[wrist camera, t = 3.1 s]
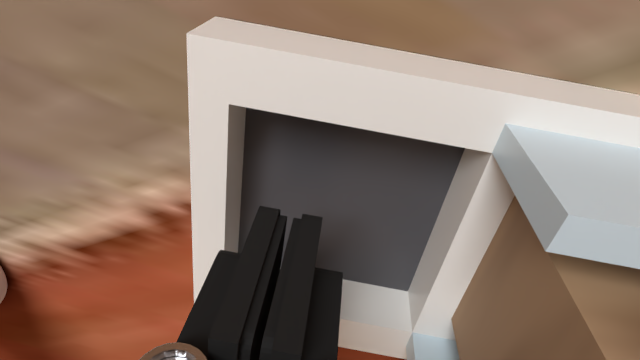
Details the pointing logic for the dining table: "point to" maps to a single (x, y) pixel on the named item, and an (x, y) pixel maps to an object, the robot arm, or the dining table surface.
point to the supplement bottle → (2, 284)
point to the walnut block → (546, 303)
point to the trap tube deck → (401, 169)
